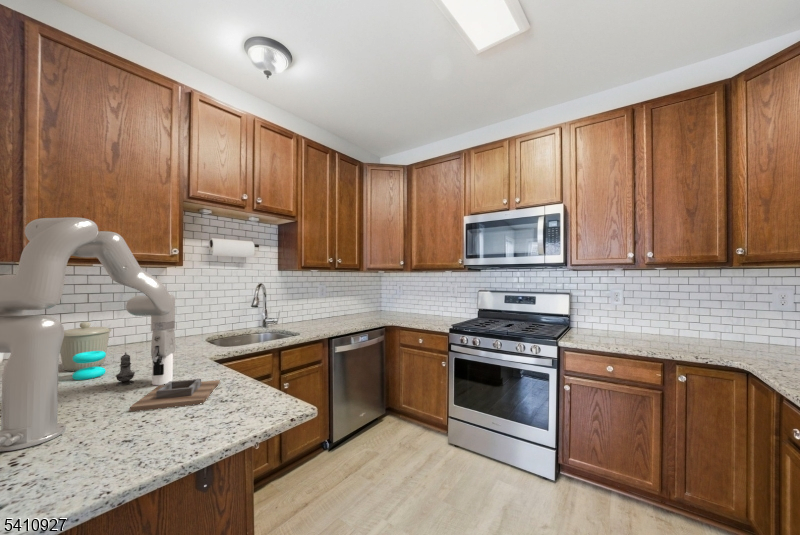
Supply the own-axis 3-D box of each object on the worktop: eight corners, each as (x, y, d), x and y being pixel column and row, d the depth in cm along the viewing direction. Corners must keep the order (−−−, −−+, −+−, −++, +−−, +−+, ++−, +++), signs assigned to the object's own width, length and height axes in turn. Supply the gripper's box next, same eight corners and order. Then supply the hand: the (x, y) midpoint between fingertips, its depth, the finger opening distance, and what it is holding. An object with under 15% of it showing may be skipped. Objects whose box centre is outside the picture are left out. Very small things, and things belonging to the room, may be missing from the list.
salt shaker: (123, 386, 121) (123, 354, 121) (111, 385, 122) (111, 354, 122) (139, 381, 126) (139, 351, 127) (127, 380, 128) (127, 350, 128)
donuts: (103, 353, 131) (69, 357, 126) (102, 378, 131) (68, 382, 125) (108, 349, 140) (76, 352, 134) (108, 372, 139) (76, 376, 134)
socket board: (203, 404, 103) (203, 391, 103) (129, 411, 98) (129, 398, 98) (219, 384, 122) (219, 373, 123) (159, 389, 117) (159, 378, 117)
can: (148, 384, 123) (149, 353, 123) (167, 379, 128) (167, 349, 129) (157, 386, 120) (157, 354, 120) (176, 381, 125) (176, 351, 126)
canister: (70, 364, 151) (71, 320, 151) (118, 360, 157) (119, 318, 158) (44, 376, 134) (45, 326, 135) (99, 371, 140) (99, 323, 141)
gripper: (164, 329, 117) (164, 378, 117) (182, 322, 134) (182, 365, 134) (140, 330, 115) (139, 380, 115) (161, 323, 132) (161, 367, 131)
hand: (162, 371), depth 124 cm, fingers closed on can, 6 cm apart
